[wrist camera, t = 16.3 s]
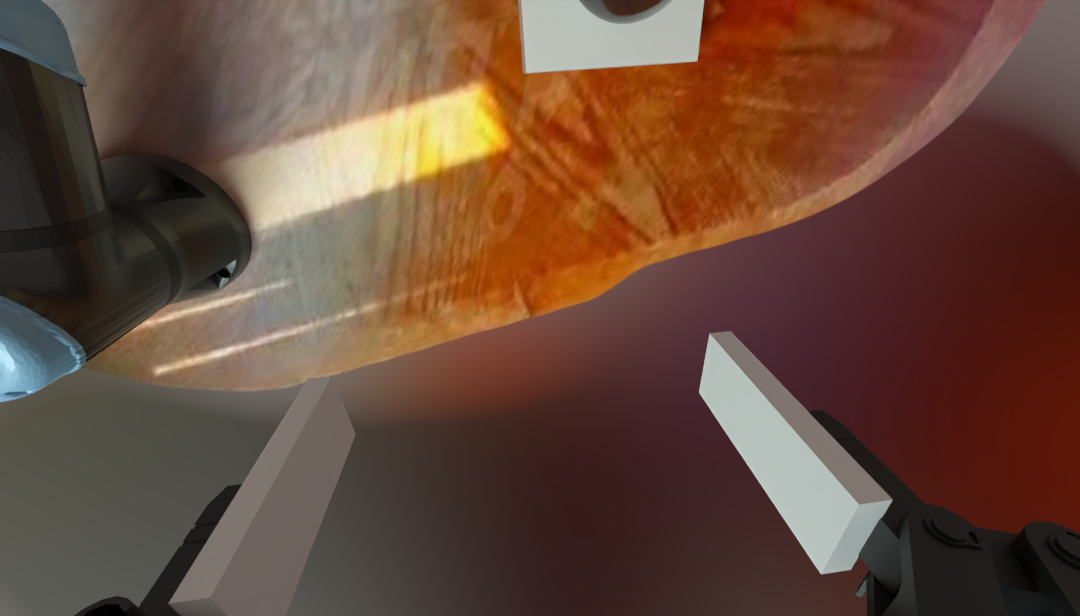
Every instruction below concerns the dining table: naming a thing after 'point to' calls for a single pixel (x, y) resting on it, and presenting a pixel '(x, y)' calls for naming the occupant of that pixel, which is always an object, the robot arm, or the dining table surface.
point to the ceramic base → (605, 37)
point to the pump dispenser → (624, 9)
